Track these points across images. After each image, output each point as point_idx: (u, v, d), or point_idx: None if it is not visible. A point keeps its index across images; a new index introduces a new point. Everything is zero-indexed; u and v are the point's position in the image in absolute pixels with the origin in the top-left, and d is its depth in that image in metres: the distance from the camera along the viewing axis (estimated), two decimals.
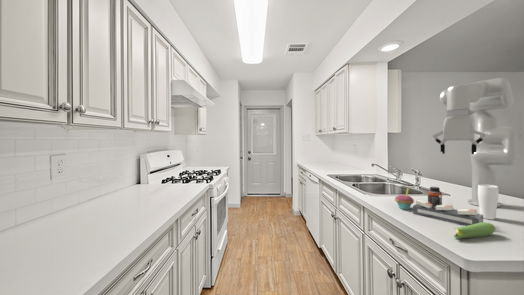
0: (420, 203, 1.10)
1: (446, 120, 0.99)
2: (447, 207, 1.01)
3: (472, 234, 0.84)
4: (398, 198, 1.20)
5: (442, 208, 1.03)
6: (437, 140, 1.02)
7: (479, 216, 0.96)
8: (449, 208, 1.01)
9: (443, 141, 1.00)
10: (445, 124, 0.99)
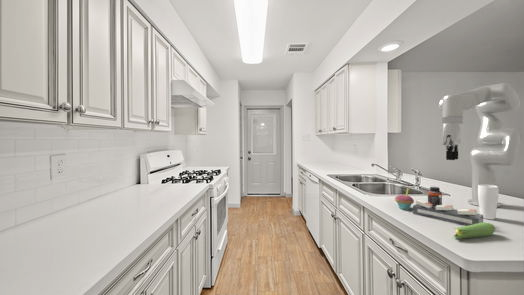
0: (420, 203, 1.10)
1: (455, 125, 1.03)
2: (447, 207, 1.01)
3: (472, 234, 0.84)
4: (398, 198, 1.20)
5: (442, 208, 1.03)
6: (451, 147, 1.04)
7: (479, 216, 0.96)
8: (449, 208, 1.01)
9: (454, 147, 1.05)
10: (454, 129, 1.03)
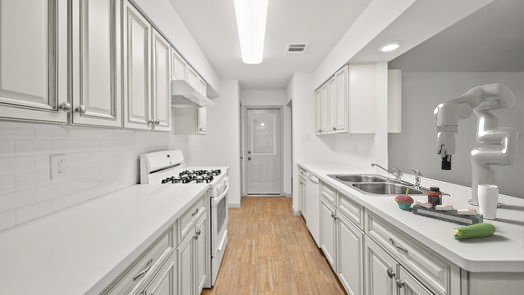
0: (420, 203, 1.10)
1: (449, 135, 1.00)
2: (447, 207, 1.01)
3: (472, 234, 0.84)
4: (398, 198, 1.20)
5: (442, 208, 1.03)
6: (446, 157, 1.02)
7: (479, 216, 0.96)
8: (449, 208, 1.01)
9: (449, 157, 1.02)
10: (449, 139, 1.00)
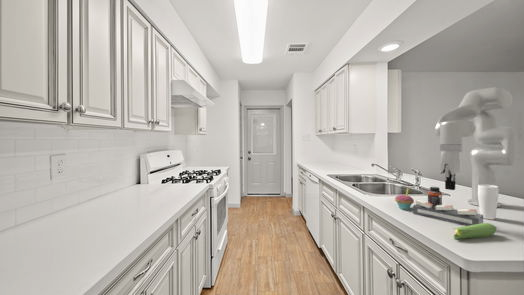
0: (420, 203, 1.10)
1: (453, 154, 0.97)
2: (447, 207, 1.01)
3: (472, 234, 0.84)
4: (398, 198, 1.20)
5: (442, 208, 1.03)
6: (450, 177, 0.99)
7: (479, 216, 0.96)
8: (449, 208, 1.01)
9: (453, 177, 0.99)
10: (453, 158, 0.97)
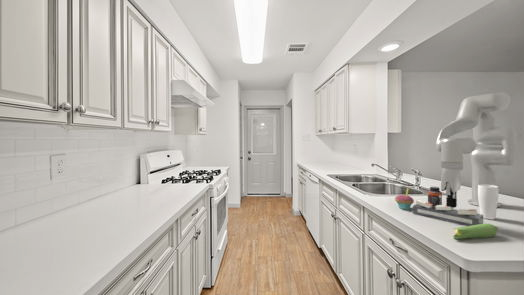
0: (420, 203, 1.10)
1: (454, 172, 0.97)
2: (447, 207, 1.01)
3: (472, 235, 0.83)
4: (398, 198, 1.20)
5: (442, 208, 1.03)
6: (452, 194, 0.99)
7: (479, 216, 0.96)
8: (449, 208, 1.01)
9: (454, 195, 0.99)
10: (454, 176, 0.97)
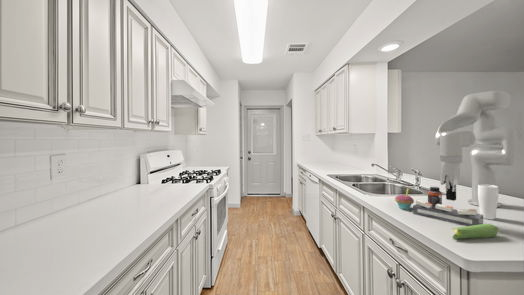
0: (420, 203, 1.10)
1: (453, 166, 0.97)
2: (447, 208, 1.01)
3: (471, 235, 0.83)
4: (398, 198, 1.20)
5: (442, 208, 1.03)
6: (451, 188, 0.99)
7: (479, 216, 0.96)
8: (449, 209, 1.01)
9: (453, 188, 1.00)
10: (453, 170, 0.97)
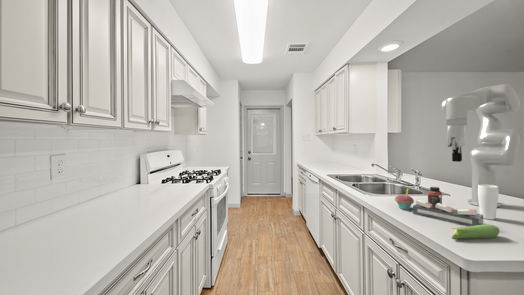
0: (420, 203, 1.10)
1: (459, 128, 1.03)
2: (447, 209, 1.01)
3: (471, 235, 0.83)
4: (398, 198, 1.20)
5: (442, 208, 1.03)
6: (457, 149, 1.05)
7: (479, 216, 0.96)
8: (449, 210, 1.01)
9: (459, 149, 1.06)
10: (459, 131, 1.03)
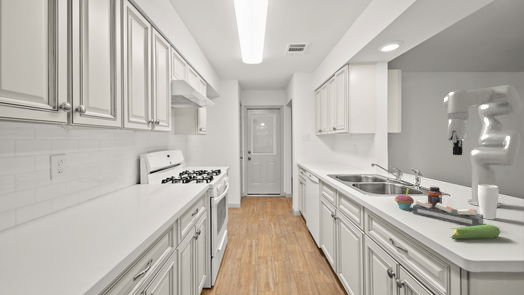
0: (420, 203, 1.10)
1: (460, 121, 1.05)
2: (447, 209, 1.01)
3: (471, 235, 0.83)
4: (398, 198, 1.20)
5: (442, 208, 1.03)
6: (458, 142, 1.07)
7: (479, 216, 0.96)
8: (449, 210, 1.01)
9: (460, 143, 1.07)
10: (460, 125, 1.04)
